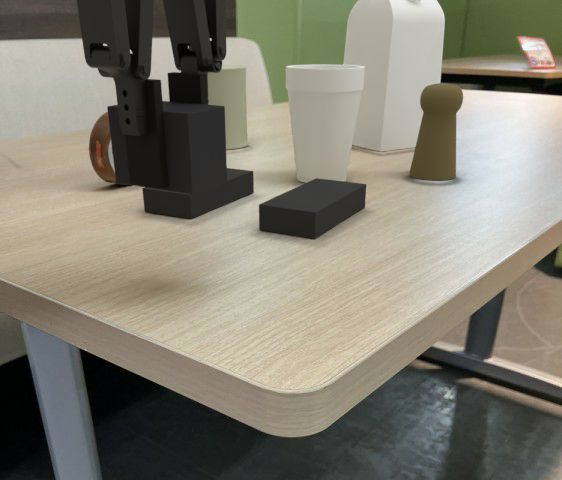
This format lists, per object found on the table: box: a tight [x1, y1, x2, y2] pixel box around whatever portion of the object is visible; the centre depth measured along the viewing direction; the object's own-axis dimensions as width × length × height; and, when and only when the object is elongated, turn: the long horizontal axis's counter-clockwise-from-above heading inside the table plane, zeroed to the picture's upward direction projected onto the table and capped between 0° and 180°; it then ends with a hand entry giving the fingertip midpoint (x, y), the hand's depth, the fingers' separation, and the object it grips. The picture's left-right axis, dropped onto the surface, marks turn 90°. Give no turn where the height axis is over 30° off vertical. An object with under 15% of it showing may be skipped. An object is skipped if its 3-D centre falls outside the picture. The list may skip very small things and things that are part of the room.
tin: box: [88, 111, 129, 186], centre depth 78 cm, size 15×3×8 cm, turn 150°
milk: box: [342, 0, 446, 153], centre depth 98 cm, size 12×12×26 cm
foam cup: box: [285, 63, 365, 184], centre depth 77 cm, size 10×9×13 cm
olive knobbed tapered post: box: [409, 82, 464, 181], centre depth 80 cm, size 6×6×11 cm
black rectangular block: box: [106, 100, 228, 194], centre depth 43 cm, size 6×4×5 cm
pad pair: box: [141, 167, 367, 240], centre depth 67 cm, size 20×13×2 cm, turn 62°
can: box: [208, 64, 249, 151], centre depth 99 cm, size 9×9×12 cm
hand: (171, 176), depth 44 cm, fingers closed on black rectangular block, 4 cm apart
